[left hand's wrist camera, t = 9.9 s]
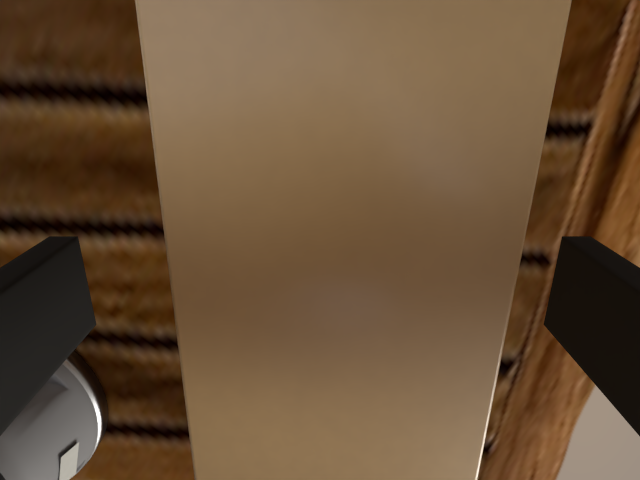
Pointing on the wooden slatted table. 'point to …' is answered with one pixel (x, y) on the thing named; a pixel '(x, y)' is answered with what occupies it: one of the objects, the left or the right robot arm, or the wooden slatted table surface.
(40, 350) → the left robot arm
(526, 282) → the wooden slatted table surface
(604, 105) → the wooden slatted table surface
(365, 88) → the bar
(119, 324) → the wooden slatted table surface
